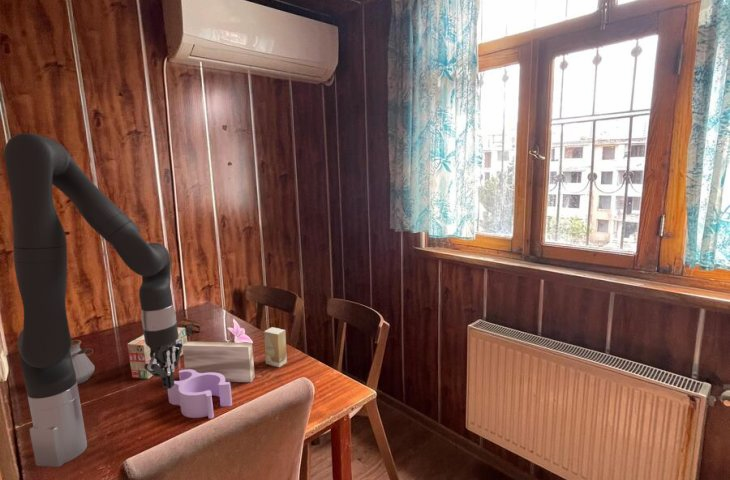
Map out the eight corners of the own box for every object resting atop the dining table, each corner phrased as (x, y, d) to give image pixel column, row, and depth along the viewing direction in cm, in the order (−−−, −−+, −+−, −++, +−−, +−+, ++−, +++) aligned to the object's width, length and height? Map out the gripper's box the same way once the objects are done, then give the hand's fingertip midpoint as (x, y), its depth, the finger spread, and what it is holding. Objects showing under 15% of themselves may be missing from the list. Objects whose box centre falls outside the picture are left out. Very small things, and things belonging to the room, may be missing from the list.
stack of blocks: (174, 349, 153) (170, 319, 151) (188, 350, 152) (185, 320, 150) (131, 378, 133) (126, 343, 130) (147, 379, 131) (143, 344, 129)
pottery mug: (171, 335, 167) (178, 316, 170) (194, 341, 172) (201, 322, 174) (175, 338, 157) (182, 317, 160) (199, 343, 162) (206, 323, 164)
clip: (157, 405, 117) (154, 383, 116) (193, 384, 127) (191, 364, 126) (204, 424, 107) (201, 400, 106) (239, 400, 118) (237, 379, 117)
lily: (231, 359, 146) (243, 336, 145) (210, 341, 151) (222, 319, 150) (252, 355, 157) (263, 334, 156) (232, 339, 162) (243, 318, 161)
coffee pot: (47, 383, 130) (39, 340, 128) (87, 368, 140) (81, 328, 137) (74, 403, 118) (66, 356, 116) (116, 386, 128) (109, 341, 125)
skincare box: (265, 364, 139) (262, 331, 137) (273, 358, 143) (271, 326, 141) (279, 367, 136) (277, 334, 134) (288, 362, 140) (285, 329, 138)
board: (251, 382, 127) (248, 347, 125) (186, 380, 130) (182, 345, 128) (254, 377, 130) (252, 342, 128) (191, 375, 133) (187, 341, 131)
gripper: (157, 334, 92) (167, 402, 96) (188, 313, 105) (196, 373, 109) (127, 334, 93) (138, 401, 97) (161, 313, 106) (170, 373, 109)
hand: (169, 386), depth 103 cm, fingers closed
